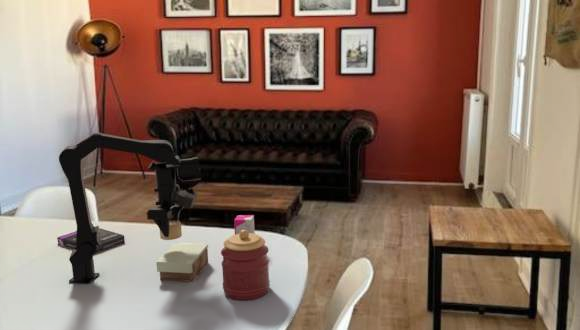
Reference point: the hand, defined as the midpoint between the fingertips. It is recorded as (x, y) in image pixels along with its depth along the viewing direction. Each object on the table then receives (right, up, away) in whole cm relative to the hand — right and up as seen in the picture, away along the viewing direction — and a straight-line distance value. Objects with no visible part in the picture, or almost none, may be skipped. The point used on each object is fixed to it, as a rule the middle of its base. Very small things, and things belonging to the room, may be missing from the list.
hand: (170, 233), depth 166 cm
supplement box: (+21, -8, +16) cm, 28 cm away
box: (-34, -8, +27) cm, 44 cm away
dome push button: (0, -1, 0) cm, 1 cm away
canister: (+24, -14, -14) cm, 31 cm away
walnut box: (+4, -12, 0) cm, 12 cm away
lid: (+4, -9, -1) cm, 10 cm away
